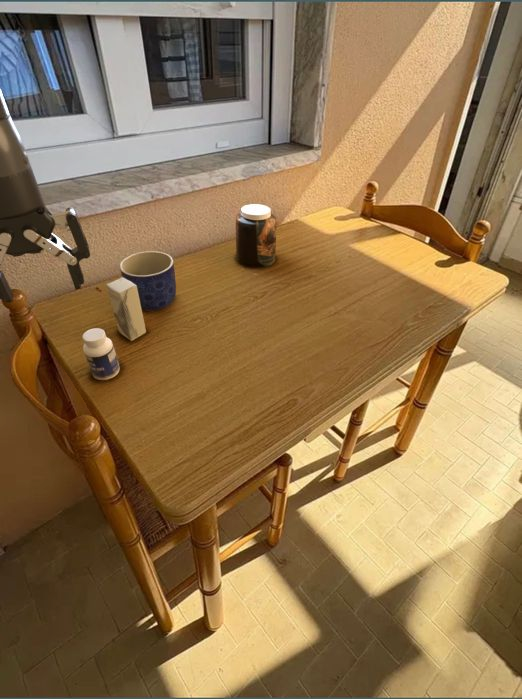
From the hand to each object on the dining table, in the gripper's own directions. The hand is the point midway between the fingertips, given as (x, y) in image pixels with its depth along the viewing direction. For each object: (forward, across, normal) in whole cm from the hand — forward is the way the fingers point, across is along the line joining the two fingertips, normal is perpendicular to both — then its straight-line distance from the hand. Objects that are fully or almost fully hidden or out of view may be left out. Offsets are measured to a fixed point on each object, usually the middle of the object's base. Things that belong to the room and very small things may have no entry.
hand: (44, 292), depth 52 cm
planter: (+26, -17, -33) cm, 45 cm away
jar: (+26, -50, -45) cm, 72 cm away
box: (+26, -10, -22) cm, 36 cm away
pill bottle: (+26, -3, -11) cm, 29 cm away
